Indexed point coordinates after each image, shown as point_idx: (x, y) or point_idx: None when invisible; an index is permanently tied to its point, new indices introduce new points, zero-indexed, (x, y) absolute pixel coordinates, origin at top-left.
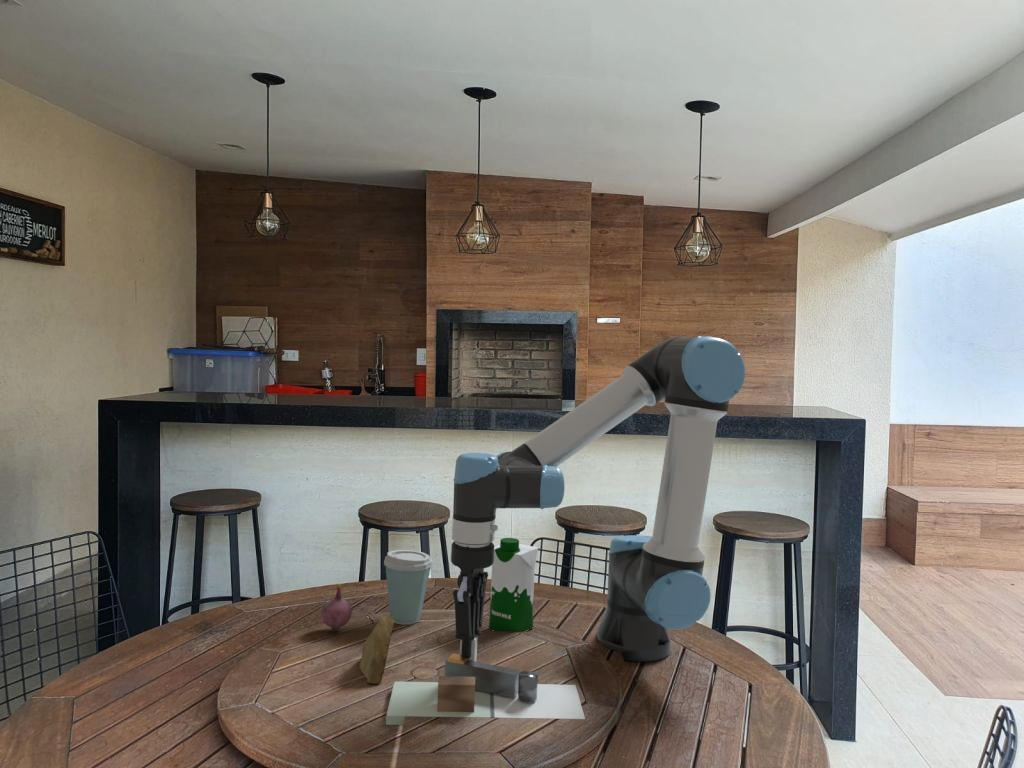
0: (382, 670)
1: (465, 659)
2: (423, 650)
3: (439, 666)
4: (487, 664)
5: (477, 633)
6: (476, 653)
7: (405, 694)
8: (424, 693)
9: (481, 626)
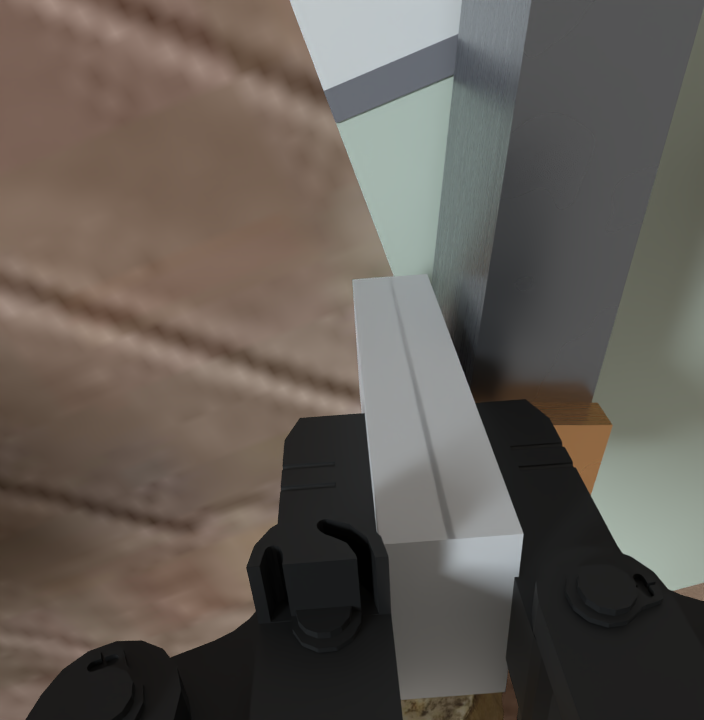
0: (474, 710)
1: (561, 425)
2: (23, 652)
3: (149, 529)
4: (529, 160)
5: (383, 596)
6: (375, 380)
7: (669, 541)
8: (636, 469)
9: (90, 654)
